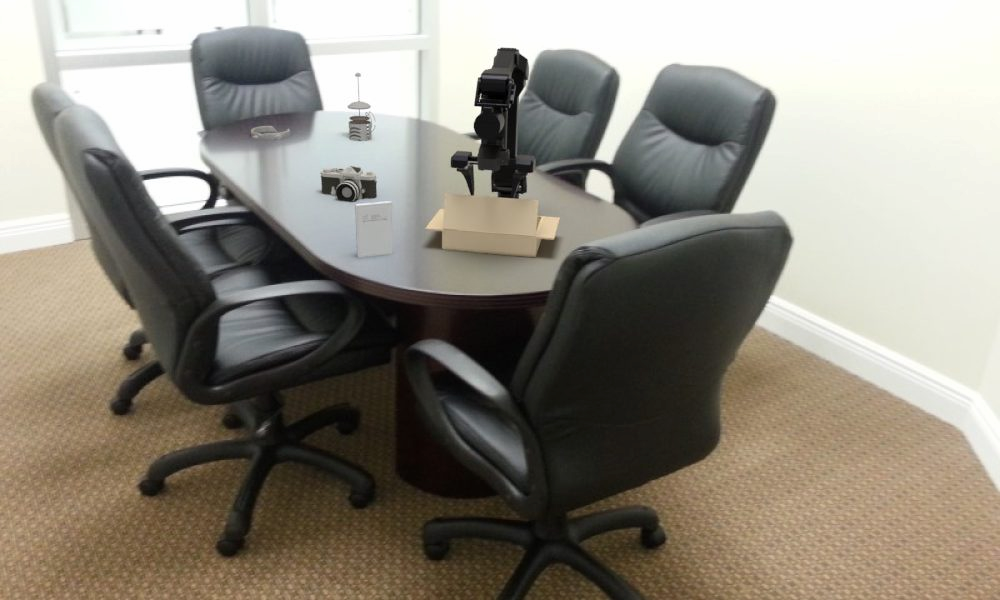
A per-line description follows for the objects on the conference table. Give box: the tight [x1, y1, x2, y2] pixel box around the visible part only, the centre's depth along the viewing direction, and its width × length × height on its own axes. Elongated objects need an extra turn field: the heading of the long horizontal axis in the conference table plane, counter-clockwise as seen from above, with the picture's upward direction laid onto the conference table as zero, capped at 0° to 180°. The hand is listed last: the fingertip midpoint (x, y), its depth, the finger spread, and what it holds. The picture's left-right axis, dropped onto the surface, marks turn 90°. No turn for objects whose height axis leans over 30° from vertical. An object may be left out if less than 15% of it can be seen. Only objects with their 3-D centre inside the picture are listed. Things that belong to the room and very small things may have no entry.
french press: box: [346, 72, 376, 142], centre depth 282 cm, size 10×12×25 cm
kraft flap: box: [443, 193, 540, 236], centre depth 185 cm, size 8×22×1 cm
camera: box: [319, 165, 378, 203], centre depth 222 cm, size 16×9×10 cm, turn 79°
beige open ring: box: [250, 125, 292, 141], centre depth 285 cm, size 14×14×5 cm
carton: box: [425, 208, 561, 258], centre depth 194 cm, size 16×30×5 cm, turn 81°
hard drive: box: [354, 200, 394, 258], centre depth 182 cm, size 2×8×12 cm, turn 115°
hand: (492, 198), depth 186 cm, fingers open, 9 cm apart
